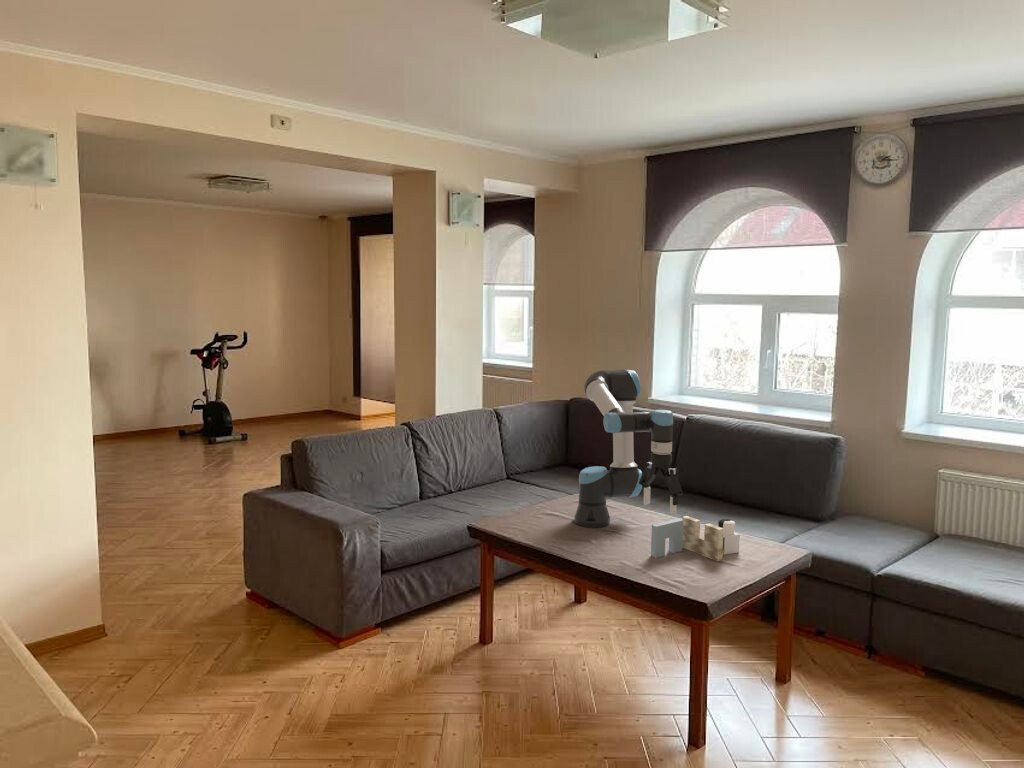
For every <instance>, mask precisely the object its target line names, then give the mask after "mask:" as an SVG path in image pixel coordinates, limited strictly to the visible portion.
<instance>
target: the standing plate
mask: <svg viewBox="0 0 1024 768" xmlns="http://www.w3.org/2000/svg"><path fill="white" fill-rule="evenodd" d="M681 520H683V547H682V549H686V550H688V551H691V552H694V553H696V554H699V555H700V556H703V557H706V558H709V559H711V560H713V561H715V562H720V561H723V554H722V553H723V531H724V528H721V527H718V525H715V524H711V523H706V524H704V534H703V535H704V536H701V535H700V534H701V520H700V519H697V518H695V517H691V516H688V515H685V516H682V518H681Z"/></svg>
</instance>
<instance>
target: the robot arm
mask: <svg viewBox="0 0 1024 768" xmlns="http://www.w3.org/2000/svg"><path fill="white" fill-rule="evenodd" d="M583 389H584V390H583V391H584V393H585V396H586V397H587V399H588V400H590V402H591V401H592V402H593V403H594V404H595V406H596V407H597V408H598V410H599V412H600V413H601V414H602V416H603V420H602V421H603V427H604V431H605V432H606V433H612V441H613V442H612V445H613V446H612V449H613V454H612V456H613V461H612V463H611V464H610V465H609V469H607V467H606V466H602V465H601V466H598V465H596V466H595V465H594V466H588V467H585V468H583V469H582V470H580V472H579V477H578V505H577V508H576V512H575V514H574V517H573V522H574V524H576V525H578V526H580V527H586V528H603V527H607V526H609V525H610V524H611V516H610V513H609V510H608V506H607V499H612V498H613V499H615V498H616V499H617V498H631V497H632V498H633V497H637V496H638V495H640V493H641V491H642V496H643V506H647V505H650V504H651V491H652V490H651V489H652V488H651V484H652V482H653V481H654V480H655V479H656V478H660V479H662V480H663V481H664V482H665V484H666V486H667V489H668V490H669V493H670V494H671V495H670V498H669V514H670V515H673V514H677V509H678V508H677V507H678V504H679V497H680V496H683V495H684V492H683V489H682V485H681V482H680V479H679V475H678V469H677V467H676V468H671V464H672V462H673V461H672V460H673V459H672V458H673V455H672V452H673V432H674V431H673V429H674V416H673V415H674V414H673V412H672V410H668V409H655V410H654V409H653V410H650V409H646V410H643V411H634V409H633V408H634V407H633V406H634V404H636V402H637V398H639V397H640V396H641V394H642V386H641V380H640V375H638V373H637V372H636V371H635V370H633V369H609V370H608V369H606V370H605V369H601V370H597V371H594V372H593V373H591V374H590V375H589V376H587V379H586V380H585V382H584V386H583ZM644 432H645V433H651V438H650V439H651V443H650V444H651V445H650V451H651V453H650V461H648V462H645V466H644V469H643V472H642V470H641V469H639V468H638V464H637V463H636V462H635V461H634V459H635V457H634V456H635V454H634V453H635V452H634V433H644Z"/></svg>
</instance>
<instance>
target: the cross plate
mask: <svg viewBox="0 0 1024 768" xmlns="http://www.w3.org/2000/svg"><path fill="white" fill-rule="evenodd" d="M666 539H668V552H670V553H672V554H675V553H679V552H682V551H683V520H682V518H675V519H672V520H671V519H670V520H666V521H663V522H658V523H654V524H651V539H650V540H651V541H650V542H651V543H650V545H651V546H650V557H653V558H655V559H657V558H660V557H665V556H666Z"/></svg>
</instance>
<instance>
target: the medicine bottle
mask: <svg viewBox="0 0 1024 768" xmlns="http://www.w3.org/2000/svg"><path fill="white" fill-rule="evenodd" d="M717 526H718V527H721V528H724V531H723V553H722V556H725V555H731V554H732V555H733V554H737V553H740V552H739V551H740V538H741V537H740V534H739V533H737V532H736V530H735V529H736V522H735V521H734V520H732V519H729V518H721V519H719V520H718V524H717Z"/></svg>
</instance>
